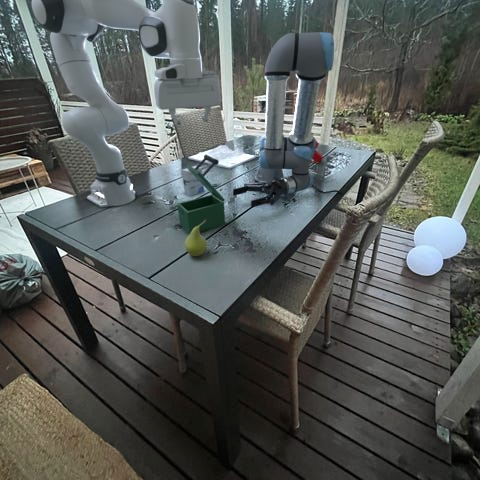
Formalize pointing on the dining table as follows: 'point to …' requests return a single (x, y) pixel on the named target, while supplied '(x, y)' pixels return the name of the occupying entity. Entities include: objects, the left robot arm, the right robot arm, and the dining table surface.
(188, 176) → the ink box
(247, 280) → the dining table surface
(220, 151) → the relief map
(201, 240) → the fruit
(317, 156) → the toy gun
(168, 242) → the dining table surface
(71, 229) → the dining table surface
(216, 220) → the chest
